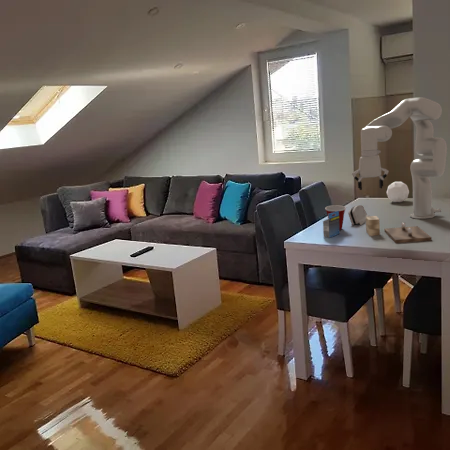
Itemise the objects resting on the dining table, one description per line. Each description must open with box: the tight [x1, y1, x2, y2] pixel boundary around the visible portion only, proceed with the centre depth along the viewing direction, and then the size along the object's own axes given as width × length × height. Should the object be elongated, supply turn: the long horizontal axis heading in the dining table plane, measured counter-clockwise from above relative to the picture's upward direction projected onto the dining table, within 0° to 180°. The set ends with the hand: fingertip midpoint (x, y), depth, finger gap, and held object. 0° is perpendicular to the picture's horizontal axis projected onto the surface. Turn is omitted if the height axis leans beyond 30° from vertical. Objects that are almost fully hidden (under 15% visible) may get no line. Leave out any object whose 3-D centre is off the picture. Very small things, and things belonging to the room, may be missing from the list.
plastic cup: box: [324, 204, 347, 231], centre depth 260 cm, size 11×11×12 cm
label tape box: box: [322, 211, 340, 239], centre depth 248 cm, size 9×4×12 cm, turn 133°
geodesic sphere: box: [386, 180, 410, 203], centre depth 311 cm, size 14×14×14 cm
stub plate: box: [384, 222, 432, 244], centre depth 235 cm, size 16×22×5 cm
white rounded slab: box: [348, 204, 370, 226], centre depth 272 cm, size 17×5×10 cm, turn 146°
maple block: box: [365, 215, 381, 237], centre depth 245 cm, size 5×8×8 cm, turn 175°
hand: (370, 188), depth 241 cm, fingers open, 9 cm apart
